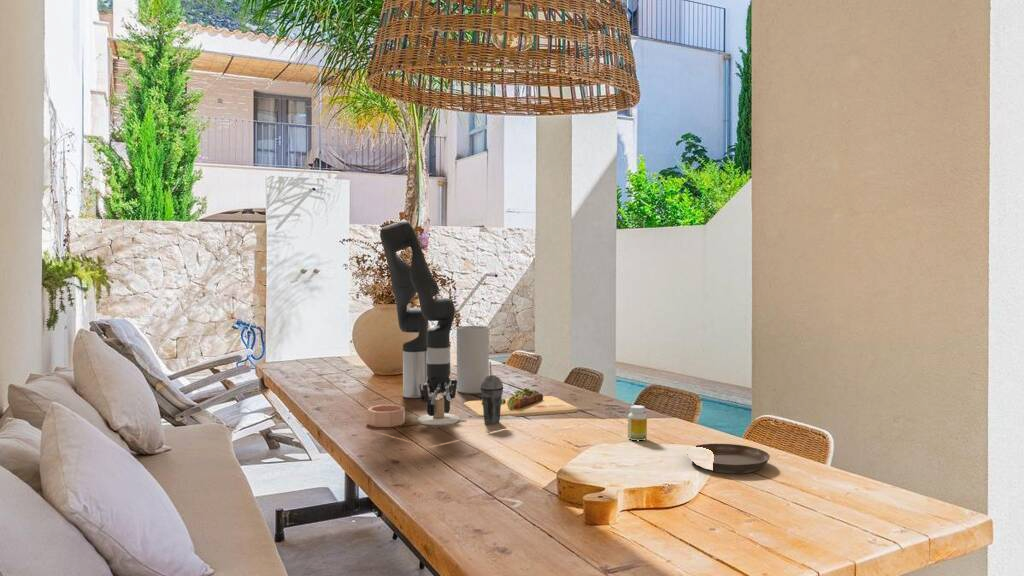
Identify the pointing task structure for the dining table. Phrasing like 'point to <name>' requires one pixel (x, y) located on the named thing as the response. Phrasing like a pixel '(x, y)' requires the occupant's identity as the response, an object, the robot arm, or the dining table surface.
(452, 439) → the dining table surface
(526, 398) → the cutting board
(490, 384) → the beverage cup
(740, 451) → the plant saucer
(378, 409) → the bowl
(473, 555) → the dining table surface
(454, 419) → the lid
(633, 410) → the supplement bottle
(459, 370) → the cylinder vase
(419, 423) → the mat
